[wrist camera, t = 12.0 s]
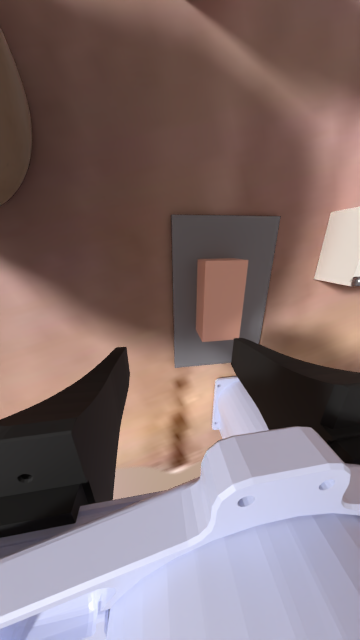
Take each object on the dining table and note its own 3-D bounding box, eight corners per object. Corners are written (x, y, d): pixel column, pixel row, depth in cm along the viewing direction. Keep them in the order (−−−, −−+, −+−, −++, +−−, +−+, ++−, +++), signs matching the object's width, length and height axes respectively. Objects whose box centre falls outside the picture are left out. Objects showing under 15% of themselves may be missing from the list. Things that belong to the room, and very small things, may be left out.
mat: (254, 358, 25) (256, 359, 25) (174, 366, 24) (175, 367, 23) (278, 216, 19) (280, 216, 19) (171, 215, 18) (171, 214, 17)
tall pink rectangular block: (228, 327, 22) (239, 339, 20) (195, 330, 22) (202, 342, 19) (234, 258, 19) (248, 260, 17) (197, 258, 19) (205, 261, 16)
